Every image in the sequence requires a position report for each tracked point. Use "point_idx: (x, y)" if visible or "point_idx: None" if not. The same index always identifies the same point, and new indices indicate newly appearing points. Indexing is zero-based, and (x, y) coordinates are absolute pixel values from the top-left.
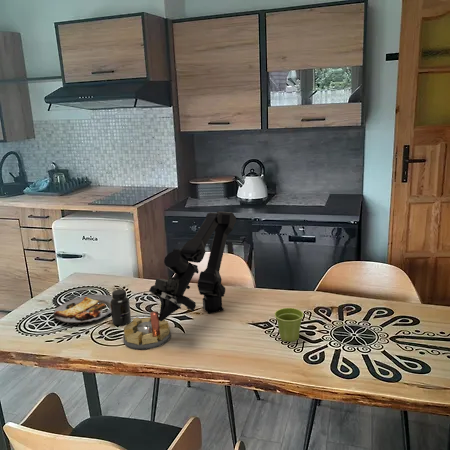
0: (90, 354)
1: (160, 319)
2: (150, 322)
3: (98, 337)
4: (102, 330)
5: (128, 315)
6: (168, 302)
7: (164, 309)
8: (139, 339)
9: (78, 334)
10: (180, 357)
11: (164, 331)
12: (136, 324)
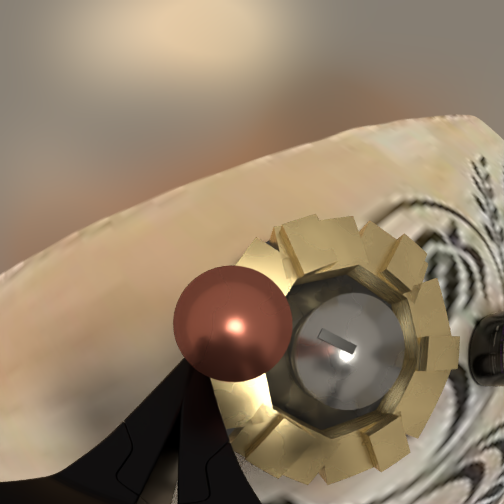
0: (377, 146)
1: (181, 363)
2: (365, 396)
3: (454, 228)
4: (481, 267)
5: (493, 364)
6: (6, 488)
7: (134, 444)
8: (275, 237)
9: (487, 211)
10: (66, 302)
11: None
12: (419, 335)
